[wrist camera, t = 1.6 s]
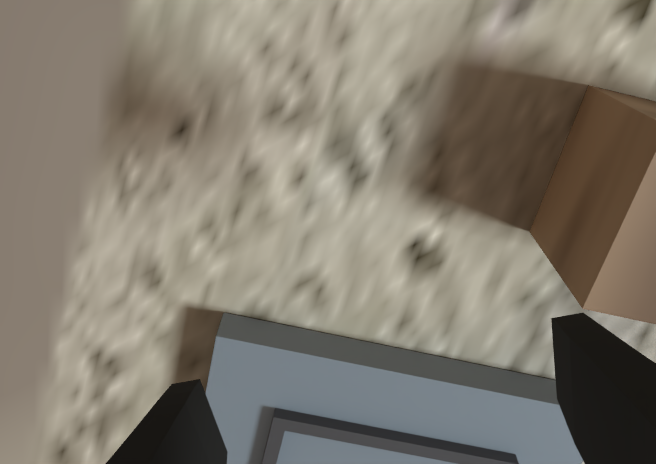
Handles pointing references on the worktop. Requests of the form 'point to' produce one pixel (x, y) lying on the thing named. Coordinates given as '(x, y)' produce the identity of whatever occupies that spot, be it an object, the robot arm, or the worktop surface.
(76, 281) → the worktop surface
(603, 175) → the walnut block
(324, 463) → the slate base plate
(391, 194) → the worktop surface
